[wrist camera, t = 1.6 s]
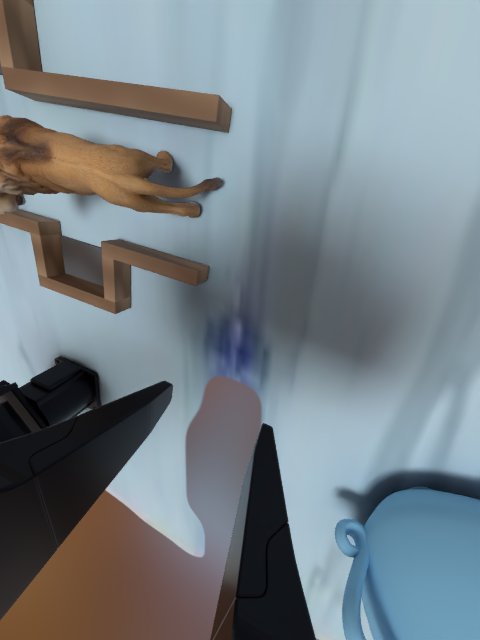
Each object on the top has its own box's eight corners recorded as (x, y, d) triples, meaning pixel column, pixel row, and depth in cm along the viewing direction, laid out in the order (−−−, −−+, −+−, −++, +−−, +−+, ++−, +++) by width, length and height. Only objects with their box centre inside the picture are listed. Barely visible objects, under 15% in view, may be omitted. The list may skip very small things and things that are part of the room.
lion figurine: (77, 214, 22) (-61, 213, 14) (61, 145, 20) (-111, 98, 12) (224, 220, 18) (144, 222, 10) (225, 133, 16) (123, 50, 8)
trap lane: (199, 332, 23) (189, 341, 21) (-57, 238, 30) (-81, 239, 28) (249, -14, 13) (237, -50, 11) (-148, -25, 20) (-193, -47, 19)
